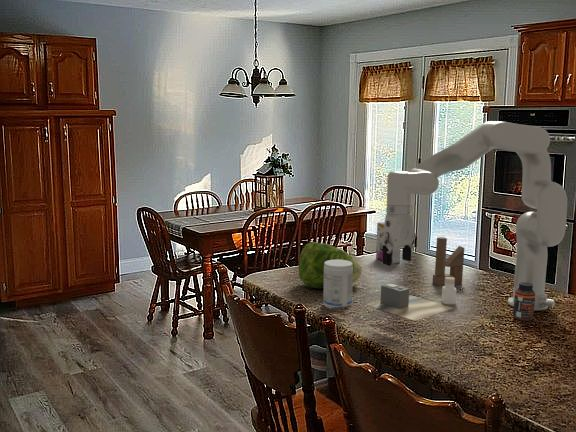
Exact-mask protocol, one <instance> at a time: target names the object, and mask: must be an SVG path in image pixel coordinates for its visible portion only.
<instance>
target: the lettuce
mask: <svg viewBox="0 0 576 432" xmlns="http://www.w3.org/2000/svg"><path fill="white" fill-rule="evenodd" d="M336 259H338V260H347V261H350V262H352V263H353V283H354V282H356V281H358V280H359V278H360V277H361V276H362V273H363V272H362V270H363V269H362V265H361V264H360V263H359V261H357V260H356V259H355V258H353V256H351V255H350V254H349V253H348V252H346V251H344V250H343V249H340V248H338V247H335V246H333V245H332V244H328V243H325V242H323V243H322V242H317V241H316V242H315V241H311V242H309V243H307V244H305V245H304V247H303V248H302V249H301V253H300V256H299V260H298V277H299V279H300V281H301V282H302V283H303V284H304V285H305V286H306V287H310V288H311V289H323V288H324V263H325V261H328V260H336Z"/></svg>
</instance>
